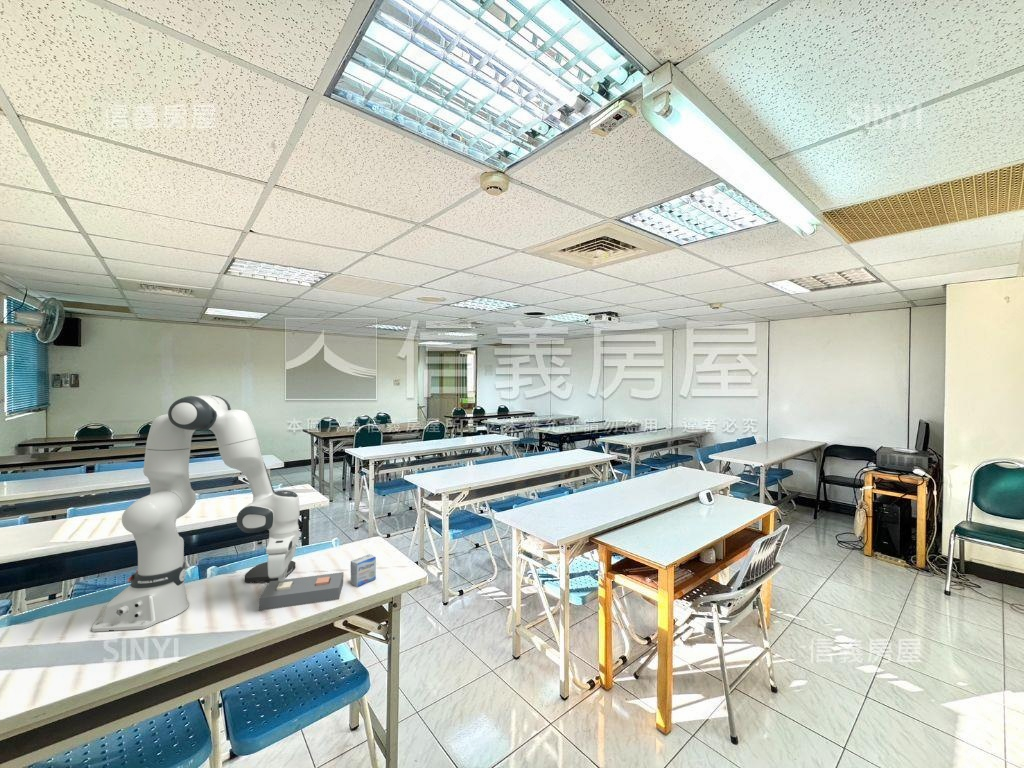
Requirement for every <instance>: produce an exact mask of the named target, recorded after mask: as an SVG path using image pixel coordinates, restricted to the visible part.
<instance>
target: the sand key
mask: <svg viewBox="0 0 1024 768" xmlns="http://www.w3.org/2000/svg"><path fill="white" fill-rule="evenodd" d="M292 585H293V581H290V582H282V583H279V585H278V587H277V588H276V591H280V590H287V589H291V587H292Z"/></svg>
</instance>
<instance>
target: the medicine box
mask: <svg viewBox="0 0 1024 768" xmlns="http://www.w3.org/2000/svg"><path fill="white" fill-rule="evenodd" d="M376 559H377V558H376V556H374V555H372V554H370V553H369V554H367V555H364V556H362V557H358V558H356V559H353V560H350V585H352V586H355V587H356V588H360V587H361V586H364V585H366V584H368V583H371V582H372V581H375V580H376V578H377V577H376V576H377V575H376V573H377V562H376V561H377V560H376Z"/></svg>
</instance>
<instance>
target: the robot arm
mask: <svg viewBox="0 0 1024 768" xmlns="http://www.w3.org/2000/svg"><path fill="white" fill-rule="evenodd" d="M208 430H210V431H211V432H212V433H213V435H214V436H215V438H216V443H217V446H218V451H219V455H220V457H221V459H222V461H223V463H224V465H225V466H227V467H229V468H230V469H234V470H237V471H240V472H242V473H243V475H244V476H246V478H247V482H248V484H249V487H250V491H251V494H252V499H253V500H252V502H251V503H248V504H247V505H246V506H244V507H243V508H242V509H241V510H239V512H238V514H237V516H236V525H237V527H238V528H239V530H240V531H242V532H243V533H246V534H254V533H255V534H256V533H261V532H265V531H267V530H268V532H269V534H268V535H269V536H268V543H267V545H266V548H265V554H266V555H267V562H268V576H269V578H278V581H279V582H281V581H284V580H285V579H287V577H288V576H287V569H288V565H289V563H290V562H291V561H293V558H294V556H295V555H296V550H297V549H296V548H297V544H298V543H299V537H300V536H299V530H300V525H299V518H300V500H299V496H298V494H297V493H296V492H294V491H291V490H286V489H285V490H284V489H282V490H276V491H275V489H274V487H273V484H272V481H271V478H270V475H269V472H268V469H267V466H266V464H265V462H264V457H263V456H262V452H261V448H260V443H259V438H258V435H257V431H256V429H255V426H254V423H253V422H252V419H251V417H250V415H249V413H248V412H246V411H245V410H242V409H235V408H234V409H232V407H231V404H230V403H229V401H228V400H226V399H225V398H223V397H221V396H219V395H213V394H212V395H209V394H198V395H197V394H196V395H193V396H192V395H190V396H189V395H187V396H184V397H181V398H179V399H177V400H175V401H174V402H173V403H172V404H171V405H170V407H169V409H168V412H167V413H166V414H165V413H164V414H162V415H158V416H157V417H154V419H153V420H152V422H151V425H150V428H149V432H148V435H147V439H146V443H145V452H144V460H143V461H144V462H143V471H142V473H143V475H144V476H145V477H146V478H147V479H148V481H149V485H150V493H149V494H148V495H145V496H142V497H141V498H139V499H137V500H135V501H134V502H132V503H131V504H130V505H129V506H128V507H127V508H126V509H125V510H124V511H123V513H122V515H121V525H122V526H123V528H124V529H125V530H126V531H127V532H129V533H131V534H132V535H133V539H134V541H135V544H136V548H137V570H136V571H135V572H134V573H132V574H131V576H129V577H128V578H127V579H126V581H127V583H130V584H129V585H128V586H127V587H126V588H124V589H123V590H122V591H120V592H119V593H118V594H117V595H115V596H114V597H113V598H112V599H111V600H110V601H109V602H108V603H107V605H106V606H105V607H104V611H103V615H102V616H100V617H99V618H98V619H96V620H95V622H94V623H93V624H92V627H91V632H92V633H93V632H94V633H95V632H109V630H114V631H129V630H131V631H132V630H144V629H147V628H149V627H151V626H154V625H156V624H157V623H160V622H164V621H166V620H169V619H171V618H174V617H175V616H178V615H179V614H181V613H182V612H184V611H185V610H187V609H188V608H189V607H190V602H189V598H188V596H187V592H186V587H185V586H186V585H185V580H186V574H187V573H186V563H185V561H184V559H185V556H184V555H185V552H184V551H185V550H184V549H185V548H184V547H185V543H184V542H185V540H184V538H183V537H182V536H181V535H180V534H179V533H178V532H179V531H178V529H177V524H176V522H177V520H178V519H180V518H181V517H183V516H185V515H186V514H187V513H188V512H189V511H190V510H191V509H192V508H193V507H194V505H195V504H196V501H197V494H196V492H195V490H194V489H193V488H192V485H191V479H190V474H189V473H190V472H189V471H190V470H189V466H190V457H191V456H190V455H191V447H192V446H191V444H192V439H193V435H194V433H195V431H203V432H205V431H208ZM286 576H287V577H286Z"/></svg>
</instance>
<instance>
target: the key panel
mask: <svg viewBox="0 0 1024 768" xmlns="http://www.w3.org/2000/svg"><path fill="white" fill-rule="evenodd" d="M322 577H330V583H329V584H326V585H318V586H316V581H317V579H318V578H322ZM290 581H293V585H292V587H291V589H287V590H280V591H276V588H277V587H278V585H279V583H282V582H290ZM343 586H344V572H342V571H340V572H336V573H335V572H334V573H326V574H319V575H318V574H317V575H310V576H309V575H308V576H301V577H293V578H285V580H284V581H281V582H279V581H278V580H276V581H270V582H269V583H267V585H266V587H265V588H264V590H263V591H262V593H261V594H260V596H259V597H258V611H261V612H262V611H266V610H273V609H280V608H287V607H288V608H289V607H294V606H295V607H296V606H301V605H302V606H303V605H309V604H316V603H324V602H330V601H338V600H340V596H341V594H342V590H343Z"/></svg>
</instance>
